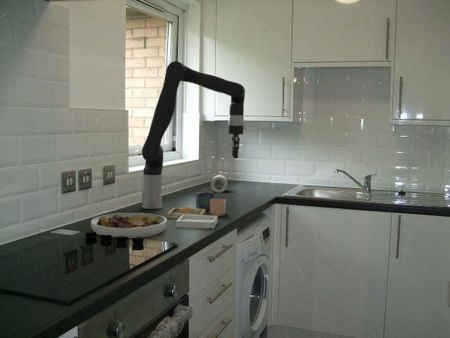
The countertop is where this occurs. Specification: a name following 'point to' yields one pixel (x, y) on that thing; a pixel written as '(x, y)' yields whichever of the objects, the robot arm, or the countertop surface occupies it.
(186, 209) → the ball
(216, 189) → the toilet paper
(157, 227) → the bowl
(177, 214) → the corral
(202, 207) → the flask
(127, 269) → the countertop surface
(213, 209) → the cup
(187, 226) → the tray
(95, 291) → the countertop surface
